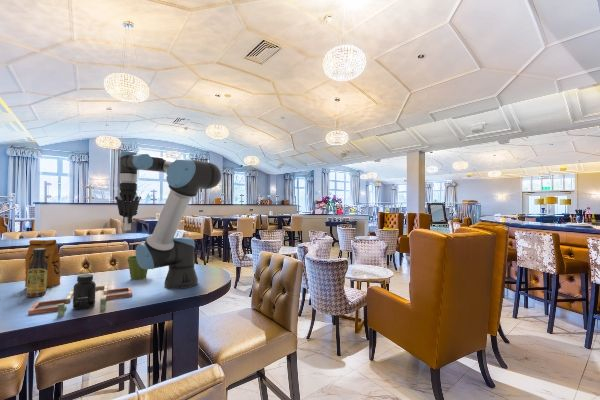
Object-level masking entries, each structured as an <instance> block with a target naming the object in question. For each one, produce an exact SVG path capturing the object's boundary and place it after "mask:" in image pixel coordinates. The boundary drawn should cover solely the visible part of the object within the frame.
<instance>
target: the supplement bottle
mask: <svg viewBox="0 0 600 400" xmlns="http://www.w3.org/2000/svg"><path fill="white" fill-rule="evenodd" d="M76 277H77V278H76V283H74V285H73V288H72V289H73V297H72V309H74V310H76V311H81V310H82V311H83V310H88V309H91V308H93V307H95V305H96V291H97V290H96V286H97V285H96V284H97V283H96V282H95V281H93V280H94V275H93V274H92V273H87V274H79V275H77V276H76Z"/></svg>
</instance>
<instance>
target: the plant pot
mask: <svg viewBox="0 0 600 400" xmlns="http://www.w3.org/2000/svg"><path fill="white" fill-rule="evenodd" d="M125 258H126V259H127V263H128V268H129V277H130V279H131V280H133V281H134V280H138V281H139V280H143V279H146V278H147V274H148V270H149V269H147V270H145V269H142V268H141V267H140V266H139V264H138V262H137V259H136V255H131V256H127V257H125Z"/></svg>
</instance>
